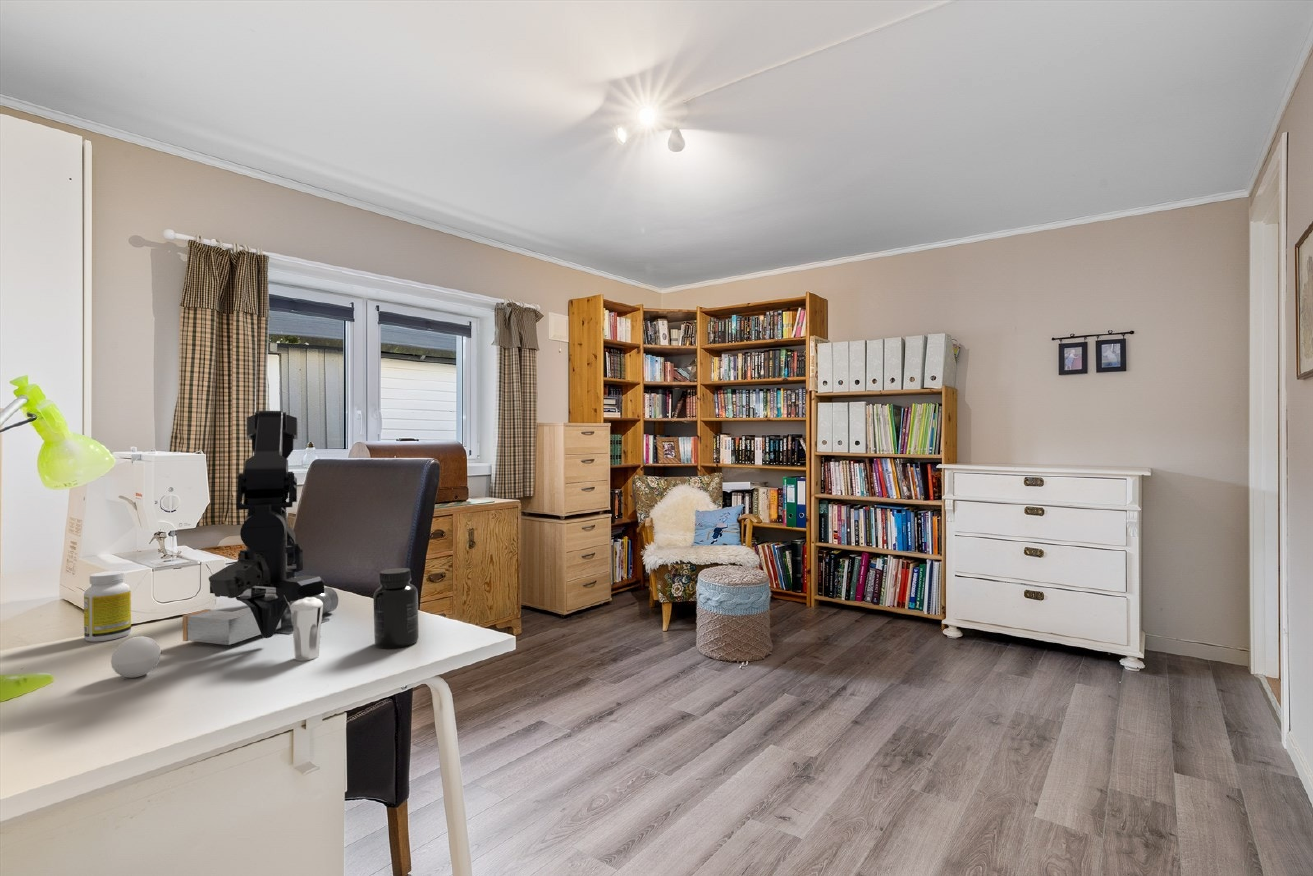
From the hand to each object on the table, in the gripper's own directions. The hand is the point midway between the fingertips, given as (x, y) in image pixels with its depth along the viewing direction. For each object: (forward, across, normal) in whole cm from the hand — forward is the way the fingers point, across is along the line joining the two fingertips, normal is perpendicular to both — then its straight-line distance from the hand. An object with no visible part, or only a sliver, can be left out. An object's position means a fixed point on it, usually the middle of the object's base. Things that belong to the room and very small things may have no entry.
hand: (267, 637), depth 106 cm
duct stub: (+2, -7, +13) cm, 15 cm away
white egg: (+2, -7, -15) cm, 17 cm away
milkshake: (+2, +11, -3) cm, 11 cm away
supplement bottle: (+2, +19, +8) cm, 21 cm away
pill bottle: (+2, -31, -4) cm, 32 cm away
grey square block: (+1, -9, +2) cm, 10 cm away
